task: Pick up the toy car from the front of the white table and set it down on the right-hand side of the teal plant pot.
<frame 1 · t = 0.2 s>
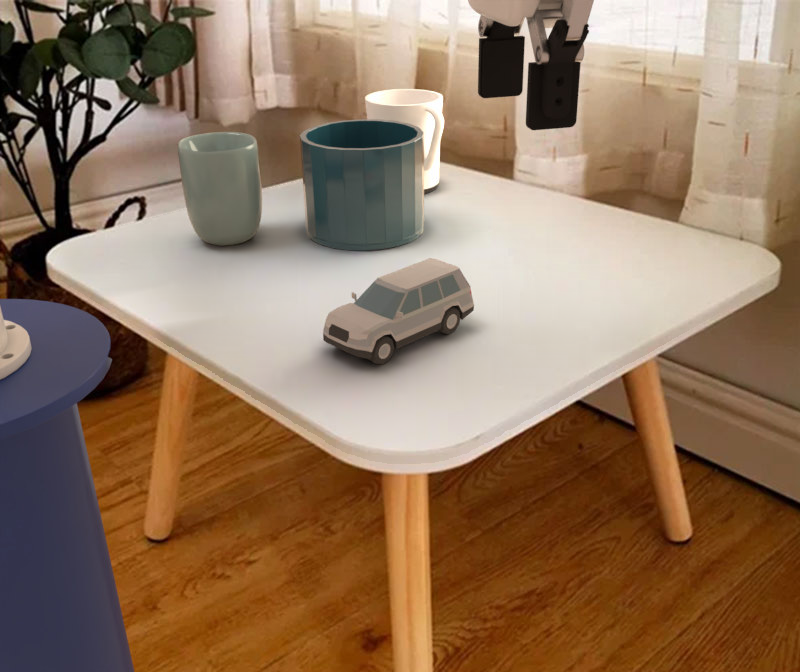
hand: (523, 110, 64), 19 cm above the table, tool pointing down, fingers open, 9 cm apart
toy car: (398, 339, 76), on the table
teal plant pot: (365, 229, 99), on the table
cup: (228, 240, 97), on the table
mug: (410, 189, 111), on the table
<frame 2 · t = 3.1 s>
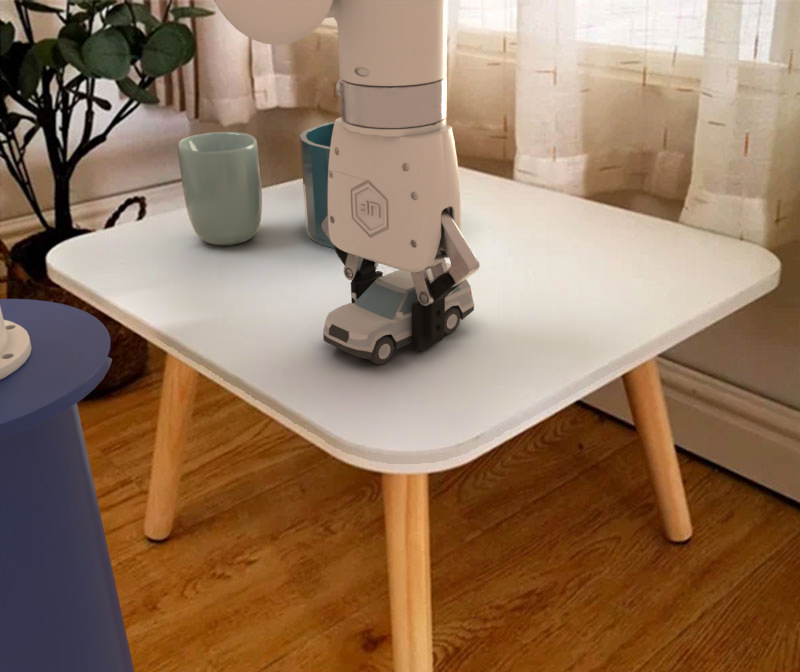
hand: (397, 331, 76), 1 cm above the table, tool pointing down, fingers closed on toy car, 5 cm apart
toy car: (398, 339, 76), on the table, touching gripper
everything else where it was.
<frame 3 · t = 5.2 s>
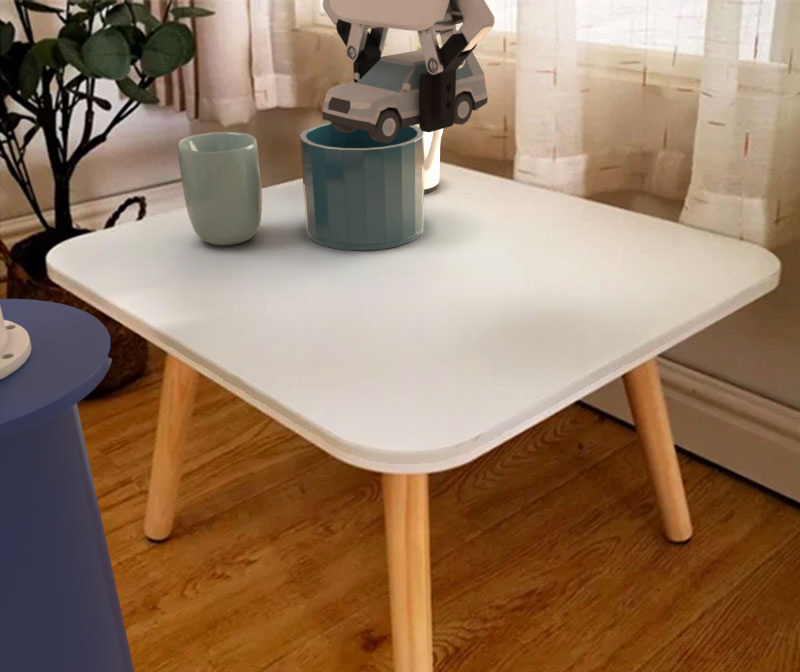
hand: (403, 119, 69), 17 cm above the table, tool pointing down, fingers closed on toy car, 5 cm apart
toy car: (405, 129, 70), point 16 cm above the table, touching gripper
everything else where it was.
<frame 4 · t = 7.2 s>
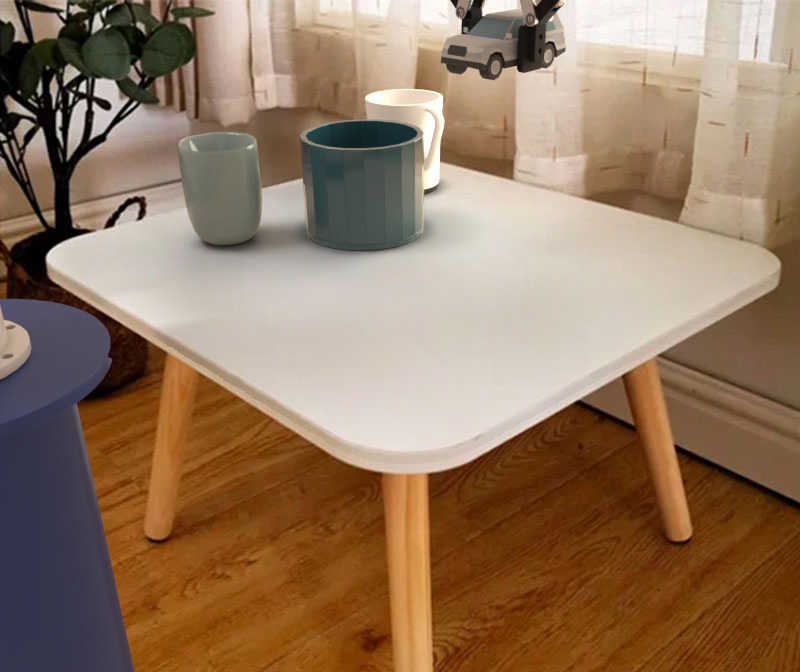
hand: (501, 64, 88), 17 cm above the table, tool pointing down, fingers closed on toy car, 5 cm apart
toy car: (502, 72, 88), point 16 cm above the table, touching gripper
everything else where it was.
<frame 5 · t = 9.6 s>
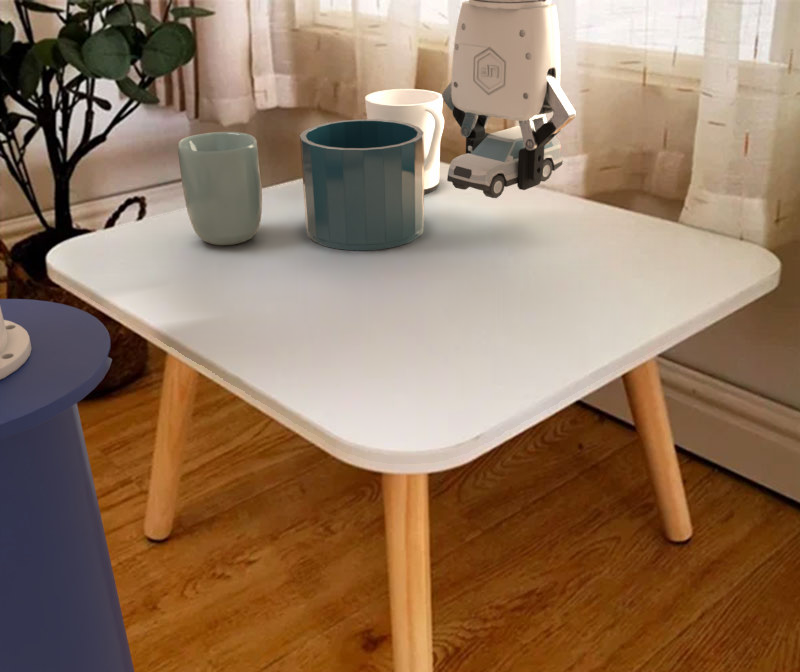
hand: (503, 178, 95), 5 cm above the table, tool pointing down, fingers closed on toy car, 5 cm apart
toy car: (503, 186, 96), point 5 cm above the table, touching gripper
everything else where it was.
when the fingers open (1 cm above the table, at t = 11.3 s): toy car stays where it is, on the table.
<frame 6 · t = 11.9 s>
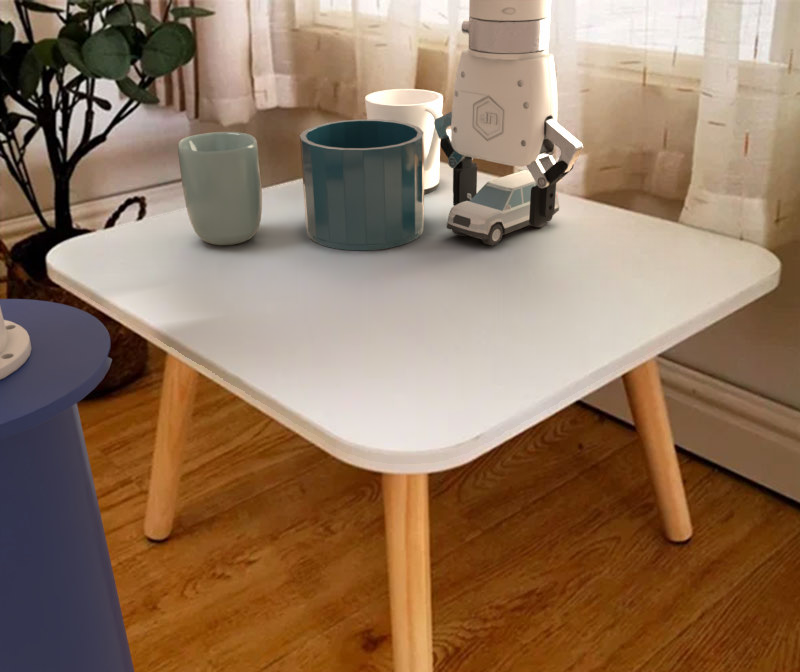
hand: (501, 213, 97), 2 cm above the table, tool pointing down, fingers open, 9 cm apart
toy car: (502, 231, 98), on the table
everything else where it was.
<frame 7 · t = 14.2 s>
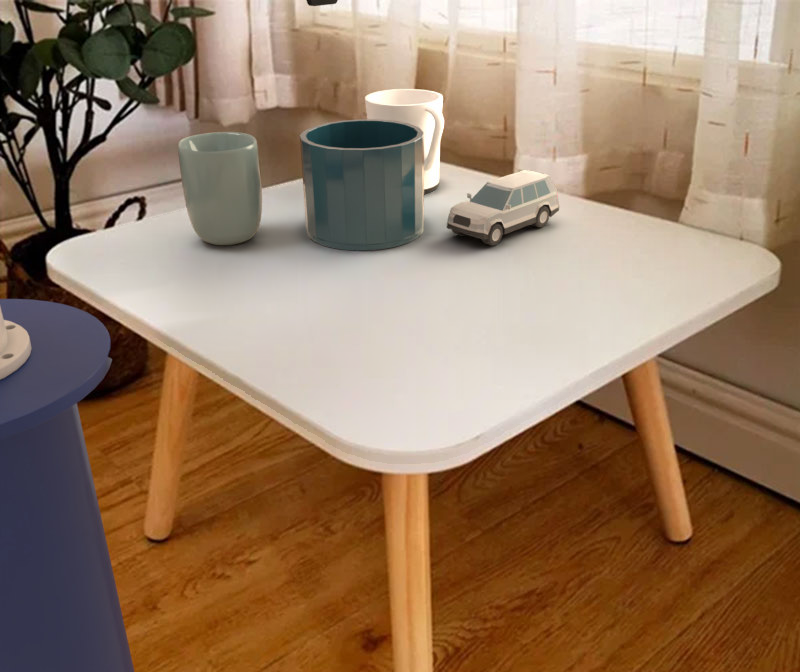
hand: (285, 0, 85), 23 cm above the table, tool pointing down, fingers open, 9 cm apart
nothing on the table moved.
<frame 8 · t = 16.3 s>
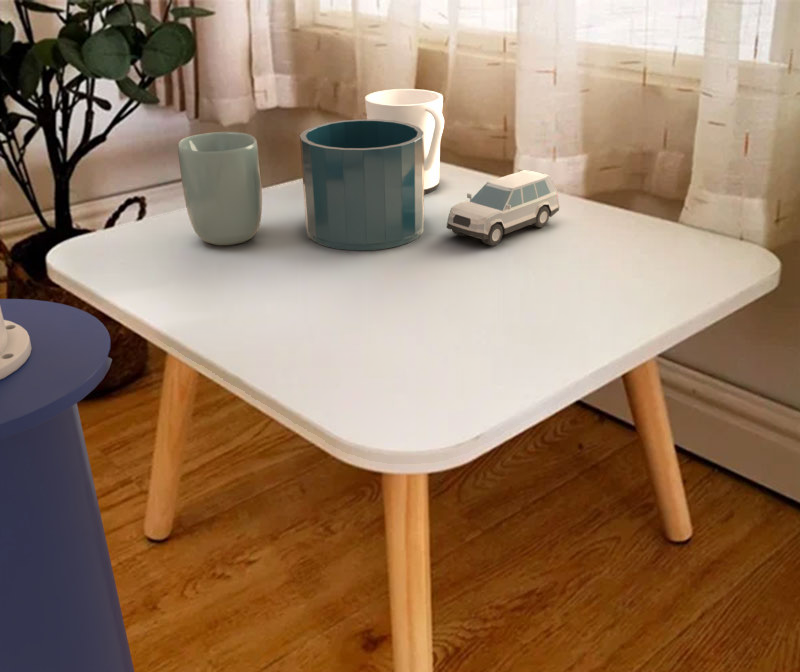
nothing on the table moved.
at the end: toy car inside the target area on the table beside the teal plant pot (0.1 cm from its centre), on the table; toy car tilted 0°; the gripper is holding nothing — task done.
